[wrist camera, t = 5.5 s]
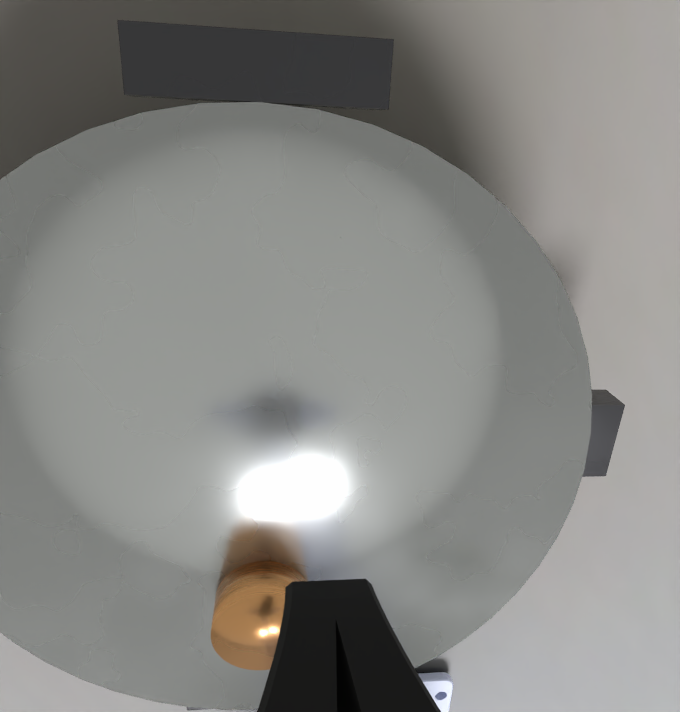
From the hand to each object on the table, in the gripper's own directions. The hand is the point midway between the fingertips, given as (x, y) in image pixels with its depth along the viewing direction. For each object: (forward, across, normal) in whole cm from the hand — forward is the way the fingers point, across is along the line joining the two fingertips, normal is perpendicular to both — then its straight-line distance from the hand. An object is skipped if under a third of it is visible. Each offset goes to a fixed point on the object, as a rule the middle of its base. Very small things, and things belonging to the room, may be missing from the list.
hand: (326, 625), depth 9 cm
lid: (+6, +1, 0) cm, 6 cm away
